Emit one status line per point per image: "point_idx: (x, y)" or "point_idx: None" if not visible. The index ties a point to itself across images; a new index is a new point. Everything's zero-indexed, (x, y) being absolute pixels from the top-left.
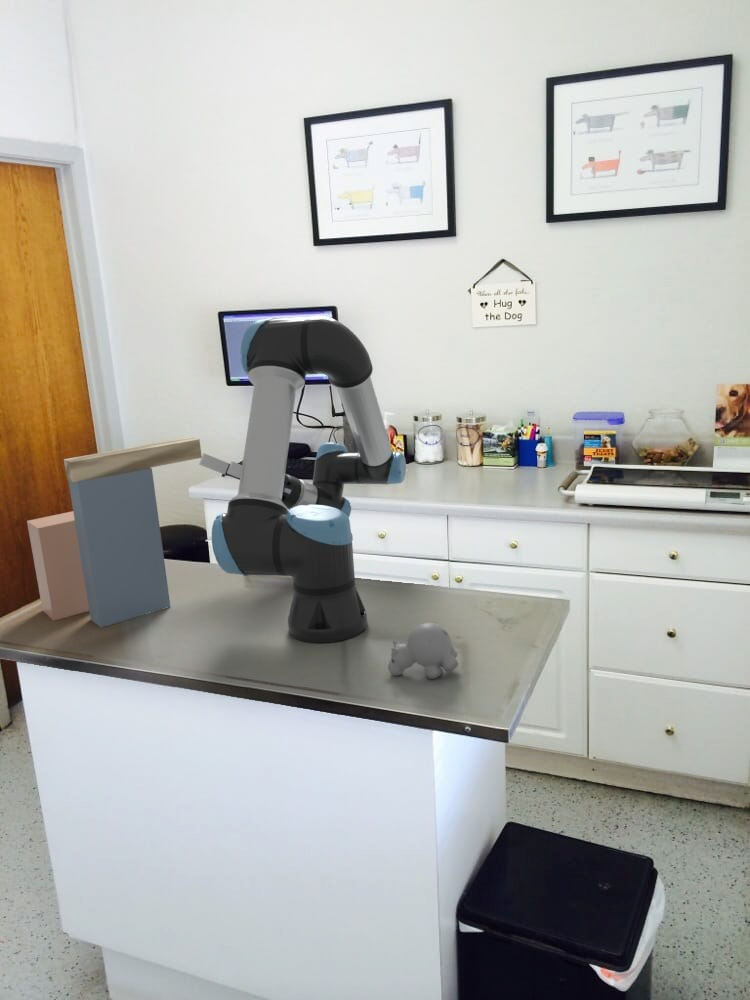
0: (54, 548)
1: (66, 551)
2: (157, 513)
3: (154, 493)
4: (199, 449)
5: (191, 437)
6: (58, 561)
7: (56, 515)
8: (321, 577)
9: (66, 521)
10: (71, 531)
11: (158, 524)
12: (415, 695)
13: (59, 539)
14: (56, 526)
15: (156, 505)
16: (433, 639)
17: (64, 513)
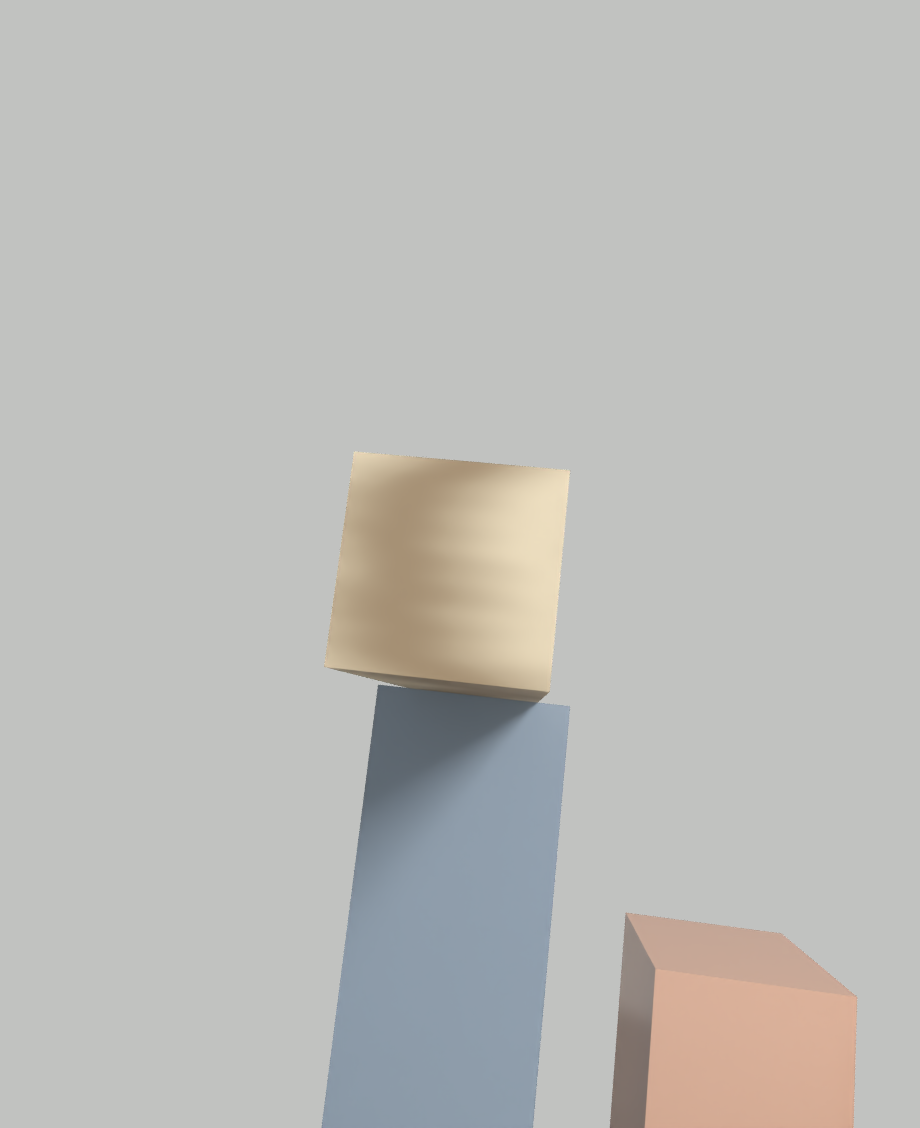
0: (623, 1029)
1: (627, 1075)
2: (338, 1006)
3: (358, 857)
4: (339, 568)
5: (532, 471)
6: (620, 1097)
7: (804, 964)
8: None
9: (652, 943)
10: (638, 995)
11: (327, 1089)
12: None
13: (629, 1002)
14: (633, 939)
15: (346, 946)
16: None
17: (824, 977)
